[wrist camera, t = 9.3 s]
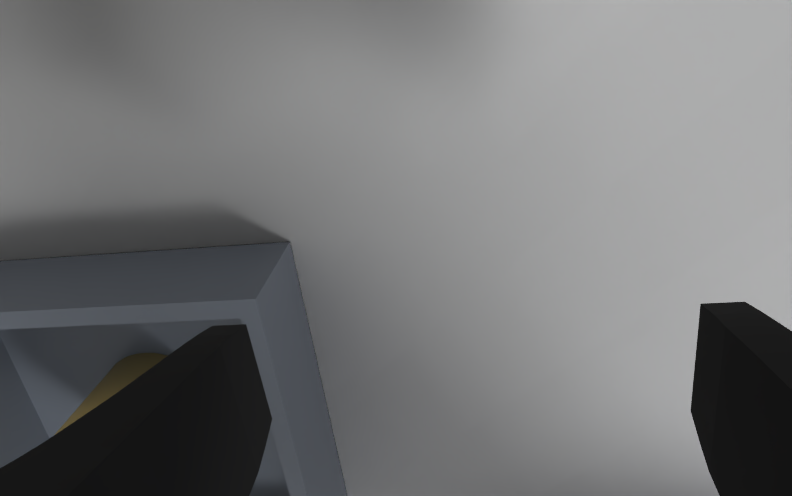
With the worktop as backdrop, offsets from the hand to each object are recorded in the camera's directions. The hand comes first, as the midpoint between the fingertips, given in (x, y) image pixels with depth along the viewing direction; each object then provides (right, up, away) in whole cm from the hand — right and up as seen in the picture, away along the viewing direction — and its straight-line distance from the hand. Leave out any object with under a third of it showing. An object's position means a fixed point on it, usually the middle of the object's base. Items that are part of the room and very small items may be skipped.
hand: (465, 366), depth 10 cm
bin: (-10, -4, +14) cm, 17 cm away
